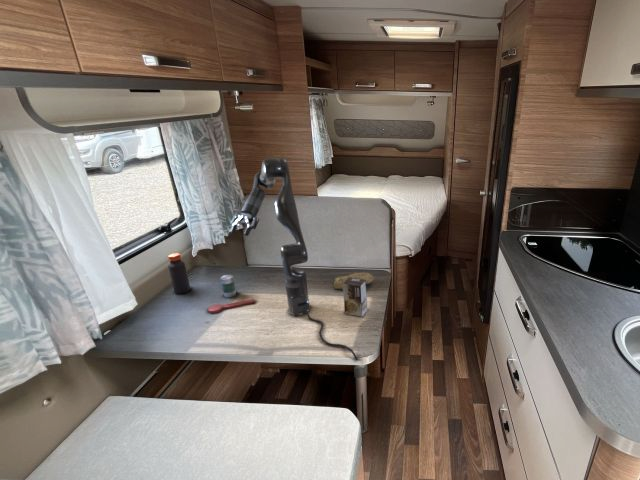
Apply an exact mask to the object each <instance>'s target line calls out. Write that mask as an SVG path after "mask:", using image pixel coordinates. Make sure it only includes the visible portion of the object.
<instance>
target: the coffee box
mask: <svg viewBox="0 0 640 480" xmlns="http://www.w3.org/2000/svg"><path fill="white" fill-rule="evenodd" d="M342 292H343V293H342V294H343V305H344V314H346V315H351V316H357V317H364V316H365V314H366V312H367V311H368V293H367V284H366V280H364V279H357V278H350V277H349V278H347V280H346V281H345V282H344V283H343V289H342Z"/></svg>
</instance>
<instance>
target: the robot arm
mask: <svg viewBox="0 0 640 480" xmlns="http://www.w3.org/2000/svg"><path fill="white" fill-rule="evenodd" d="M276 179H281V180H282V184H281V187H280V190H279V192H278V194H277V196H276V198H275V200H274V204H273V207H274V212H275V216H276V219H277V220H278V222H279V224H281V225H282V226H283V227H284V228H285V229H286V230H287V231H289V233H290V234H291V235H292V237H293V238H294V240H295V243H290V244H284V245H282V246H281V247H280V257H281V262H282V267H283V276H284V283H285V291H286V298H287V307H288V313H289V314H290V315H292V316H293V317H298V316H302V315H306V316H307V317H308V319H309V320H310V321H312V322H316V323H319V324H321V327H320V329H319V333H318V334H319V338H320V340H321V341H322V342H323V343H324V344H326V345H328V346H332V347H333V346H334V347H342V348H345V349H346V350H348V351H349V352H350V353H351V354H352V356H353V357H354V359H355V361H358V360H359V359H358V356H357V355H356V353H355V351H353V349H352V348H350V347H349V346H347V345H345V344H339V343H331V342H328V341H326V340H325V339H324V338H323V336H322V330H323V328H324V323H323V322H322V321H321V320H318V319H314V318H312V317H311V316H310V313H309V312H310V310H311V308H310V307H311V306H310V300H309V289H308V281H307V280H308V279H307V271H306V270H305V269H304V268H302V267H297V266H296V265H299V264H300V265H301V264H306V263H307V262H308V261H309V253H308V250H307V249H308V248H307V245H306V242H305V239H304V235H303V232H302V228H301V223H300V218H299V212H298V208H297V203H296V199H295V196H294V192H293V188H292V187H293V186H292V181H291V173H290V169H289V164H288V161H287V159H286V158H284V157H267V158H264V159H263V160H262V162H261V171H258V172H256V174H255V175H254V177H253V185H252V189H251V191H250V193H249V195H248V197H247V198H246V200H245V202H244V203H243V206H242V209H241V210H240V212H241V213H240V214H237V213H234V215H233V217H232V219H231V221H230V225H231V228H230V231H229V232H230V234H233V235H235V234H236V231H237V229H238V227H239V226H242V225H246V226H247V227H246V228H245V230H244V233H243V235H244V236H245V237H248V236H249V235H250V233H251V231H252V230H256V229H257V227H258V224H259V222H260V218H259V217H257V216H258V214H259V212H260V209H261V207H262V205H263V202H264V200H265V198H266V195H267V192H266V191H265V190H264V189H266V190H272V189H273V188H274V187H275V185H276ZM261 187H262V188H261ZM263 188H264V189H263ZM360 398H361V399H360V400H361V425H362V431H365V413H364V411H365V410H364V392H362V393H361V397H360Z"/></svg>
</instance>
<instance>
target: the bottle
mask: <svg viewBox="0 0 640 480" xmlns="http://www.w3.org/2000/svg"><path fill="white" fill-rule="evenodd" d="M167 259H168V261H169V264H168V265H167V267H168V272H169V276H170V279H171V283H172V287H173V291H174V293H175V294H177V295H178V294H185V293H188V292H189V291H190V290H191V284H190V281H189V276H188V271H187V268H186V264H185V262H184V261H183V260H181V259H182V258H181V254H180V253H178V252H174V253H170V254H168V255H167Z"/></svg>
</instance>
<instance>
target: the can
mask: <svg viewBox="0 0 640 480" xmlns="http://www.w3.org/2000/svg"><path fill="white" fill-rule="evenodd" d="M219 279H220V284H221V289H222V293H223V297H224V298H232V297H235V296H236V295H237V291H236V285H235V280H234V276H233V274H224V275H222V276H221V277H220V278H219Z"/></svg>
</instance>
